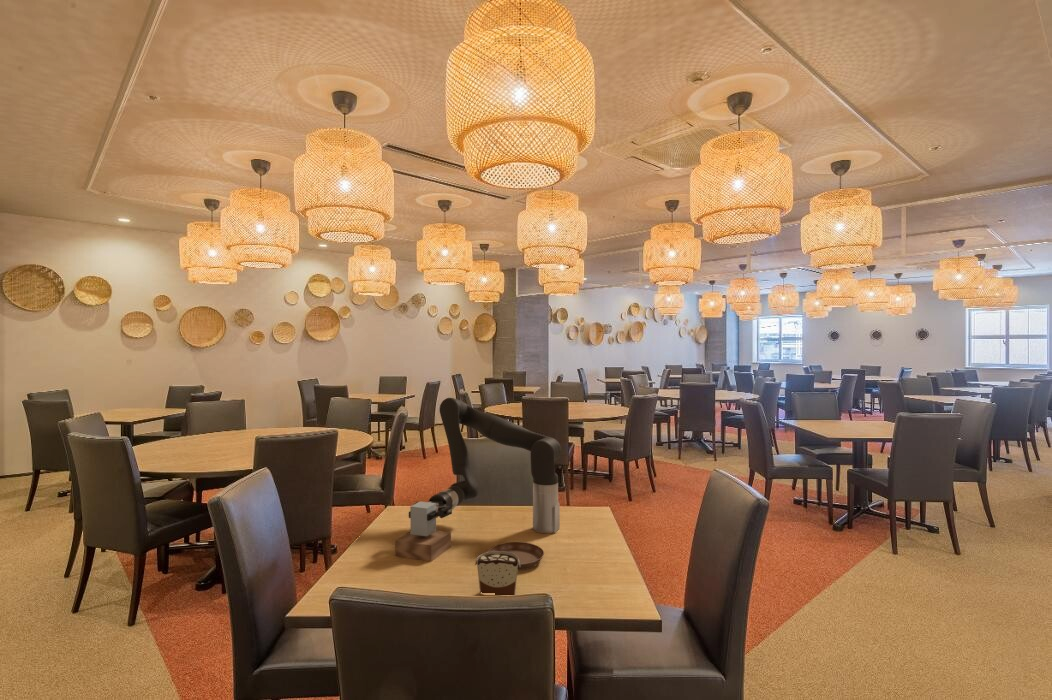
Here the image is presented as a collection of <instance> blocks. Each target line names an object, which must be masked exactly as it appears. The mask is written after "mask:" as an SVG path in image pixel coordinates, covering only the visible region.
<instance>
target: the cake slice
mask: <svg viewBox="0 0 1052 700" xmlns="http://www.w3.org/2000/svg"><path fill="white" fill-rule="evenodd" d="M518 563H519V566H520V561H519V559H518V556H517V555H515V554H513V553H510V552H506V551H491V552H488V551H485V552H483V553H482V554H479V555H478V556H477V557H476V560H475V564H474V566H477V577H478V586H479V594H480V593H481V592H482V593H495V595H515V596H516V589H517V577H518V571H519V570H518Z"/></svg>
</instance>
